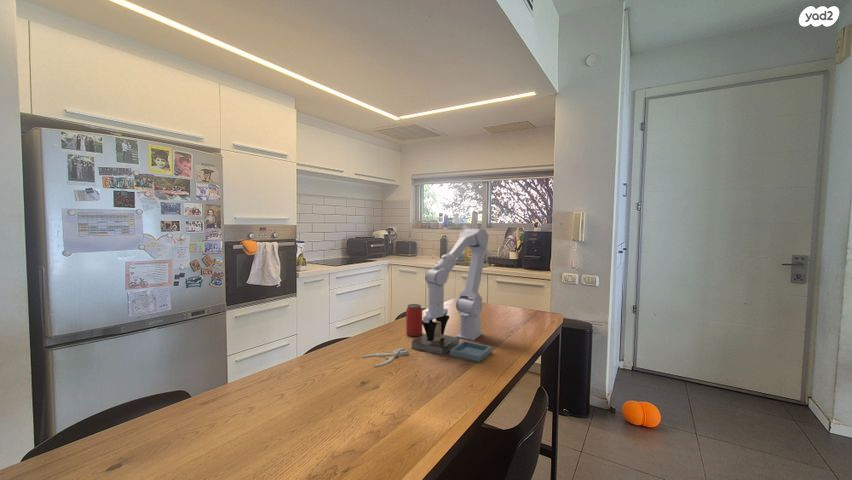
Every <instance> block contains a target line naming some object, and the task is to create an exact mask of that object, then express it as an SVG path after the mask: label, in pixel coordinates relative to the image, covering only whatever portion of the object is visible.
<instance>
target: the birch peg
mask: <svg viewBox="0 0 852 480" xmlns="http://www.w3.org/2000/svg"><path fill="white" fill-rule="evenodd" d="M432 321H433V322H435V323H437V325H436V327H435V332H434V339H433V341H431V342H435V343H439V342H441V322H440V321H436V320H432Z"/></svg>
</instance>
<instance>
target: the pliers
mask: <svg viewBox="0 0 852 480" xmlns="http://www.w3.org/2000/svg"><path fill="white" fill-rule="evenodd" d="M405 349H406V348H405V347H400V348H397V349H394V350H392V352H389V353H386V352H379V353H378V352H377V353H370V354H365V355H362V356H361V358H362V359H365V358H370V357H378V358H384V361H383V362H380V363H376V364H373V367H374V368H376V367H381V366H384V365H388V364H389V363H391V362H393V360H394V359H395V358H397V357H401V356H407V355H409V351H410V350H408V349H407V350H405ZM388 356H389V358H388Z"/></svg>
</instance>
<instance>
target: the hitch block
mask: <svg viewBox="0 0 852 480" xmlns="http://www.w3.org/2000/svg"><path fill="white" fill-rule="evenodd" d="M458 344H460V338H459V337H456V336H452V335H447V334H443V335H441V342H439V343H435V342H431V341H430V340H428V339H427V335H426V333H425V334H423V335H420V336H418V338H417V337H416V339H414V340H411V349H414V350H418V351H422V352H426V353H430V354H435V355H438V356H443V355H445V354H447V353H448V352H450V349H452V348H453V347H455V346H457V345H458Z"/></svg>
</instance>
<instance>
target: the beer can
mask: <svg viewBox="0 0 852 480" xmlns="http://www.w3.org/2000/svg"><path fill="white" fill-rule="evenodd" d="M405 314H406V316H405V317H406V318H405V319H406V320H405V321H406V322H405V323H406V324H405V331H406V332H405V334H406V335H407V336H411V337H420V336H422V334H423V325H422V320H423V308H422V305H421V304H418V303H411V304H408V305H407V307H406V311H405Z"/></svg>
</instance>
